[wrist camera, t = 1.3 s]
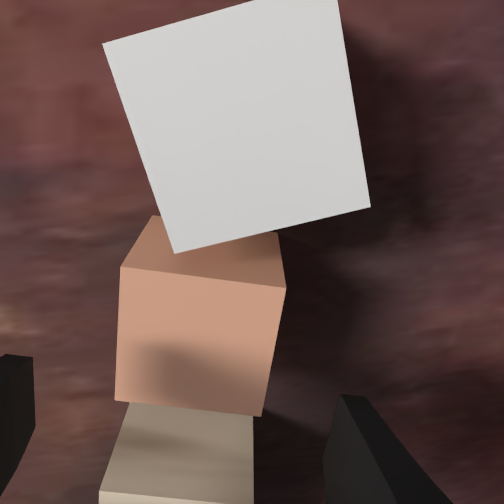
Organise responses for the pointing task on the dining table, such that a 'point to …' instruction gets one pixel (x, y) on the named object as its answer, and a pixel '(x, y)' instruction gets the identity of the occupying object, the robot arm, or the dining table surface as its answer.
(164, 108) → the white cube
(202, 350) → the terracotta cube
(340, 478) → the robot arm
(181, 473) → the birch cube
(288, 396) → the dining table surface
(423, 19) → the dining table surface
